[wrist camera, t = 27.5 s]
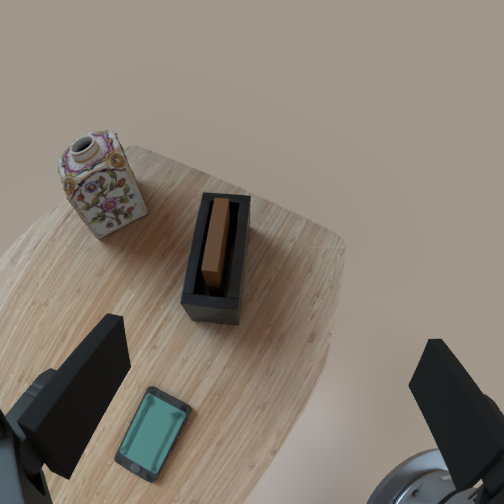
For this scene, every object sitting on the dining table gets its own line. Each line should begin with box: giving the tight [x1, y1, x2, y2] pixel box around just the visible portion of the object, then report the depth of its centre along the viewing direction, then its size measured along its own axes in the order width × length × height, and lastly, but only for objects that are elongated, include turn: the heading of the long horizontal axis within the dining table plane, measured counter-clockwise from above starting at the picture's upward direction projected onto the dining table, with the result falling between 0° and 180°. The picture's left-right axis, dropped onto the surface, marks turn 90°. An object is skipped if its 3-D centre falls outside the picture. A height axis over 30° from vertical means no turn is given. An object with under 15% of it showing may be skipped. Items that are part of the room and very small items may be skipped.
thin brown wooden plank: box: [202, 198, 232, 297], centre depth 44 cm, size 11×2×12 cm, turn 175°
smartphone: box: [114, 386, 191, 483], centre depth 36 cm, size 7×1×15 cm
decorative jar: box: [58, 131, 148, 239], centre depth 47 cm, size 12×12×18 cm
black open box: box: [180, 192, 251, 326], centre depth 46 cm, size 18×8×9 cm, turn 175°
